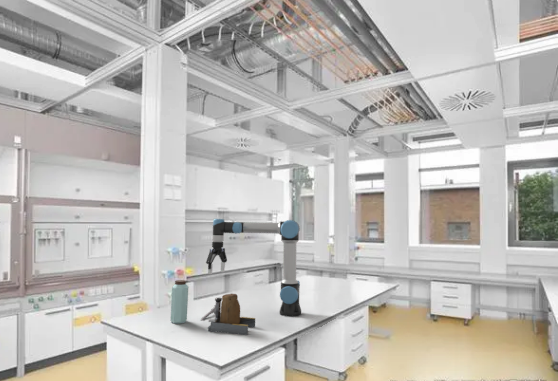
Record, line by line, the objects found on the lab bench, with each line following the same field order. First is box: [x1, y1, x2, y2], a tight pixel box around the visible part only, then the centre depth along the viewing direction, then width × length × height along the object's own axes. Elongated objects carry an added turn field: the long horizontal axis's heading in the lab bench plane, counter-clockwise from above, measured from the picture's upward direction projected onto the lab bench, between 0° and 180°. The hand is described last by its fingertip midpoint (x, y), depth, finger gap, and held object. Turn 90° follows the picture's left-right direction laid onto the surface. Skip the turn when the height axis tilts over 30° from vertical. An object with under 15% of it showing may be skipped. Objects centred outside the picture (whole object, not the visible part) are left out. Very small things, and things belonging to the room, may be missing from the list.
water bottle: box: [170, 279, 189, 325], centre depth 227 cm, size 10×10×25 cm
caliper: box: [200, 304, 216, 321], centre depth 240 cm, size 20×1×6 cm, turn 162°
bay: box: [207, 316, 256, 336], centre depth 215 cm, size 23×16×5 cm
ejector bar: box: [208, 297, 222, 323], centre depth 218 cm, size 4×18×17 cm, turn 168°
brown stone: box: [220, 293, 241, 324], centre depth 216 cm, size 11×8×20 cm
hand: (216, 273), depth 248 cm, fingers open, 13 cm apart
